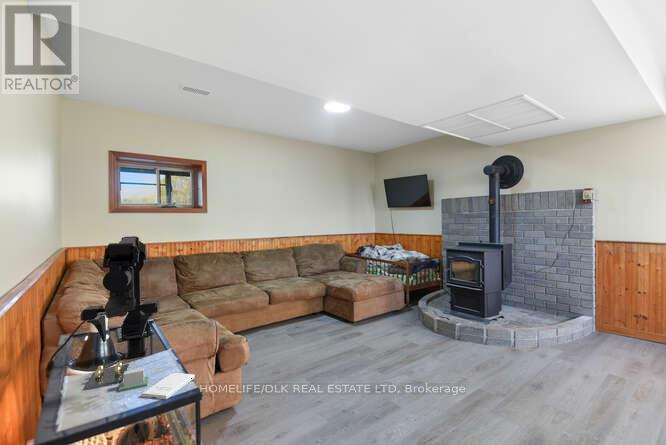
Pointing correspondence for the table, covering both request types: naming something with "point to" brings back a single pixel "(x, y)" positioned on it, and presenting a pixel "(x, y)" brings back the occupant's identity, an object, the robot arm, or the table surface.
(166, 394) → the external hard drive
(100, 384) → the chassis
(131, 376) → the green u-channel holder
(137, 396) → the table surface
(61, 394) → the table surface
